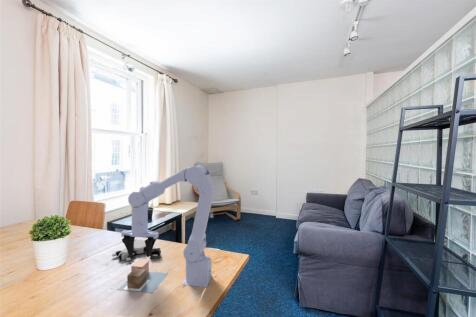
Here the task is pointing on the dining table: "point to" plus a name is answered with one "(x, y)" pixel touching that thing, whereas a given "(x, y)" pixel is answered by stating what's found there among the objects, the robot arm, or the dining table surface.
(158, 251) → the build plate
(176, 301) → the dining table surface
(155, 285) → the plate
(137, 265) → the terracotta block
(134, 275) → the walnut block
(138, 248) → the robot toy
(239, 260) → the dining table surface
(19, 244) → the dining table surface
